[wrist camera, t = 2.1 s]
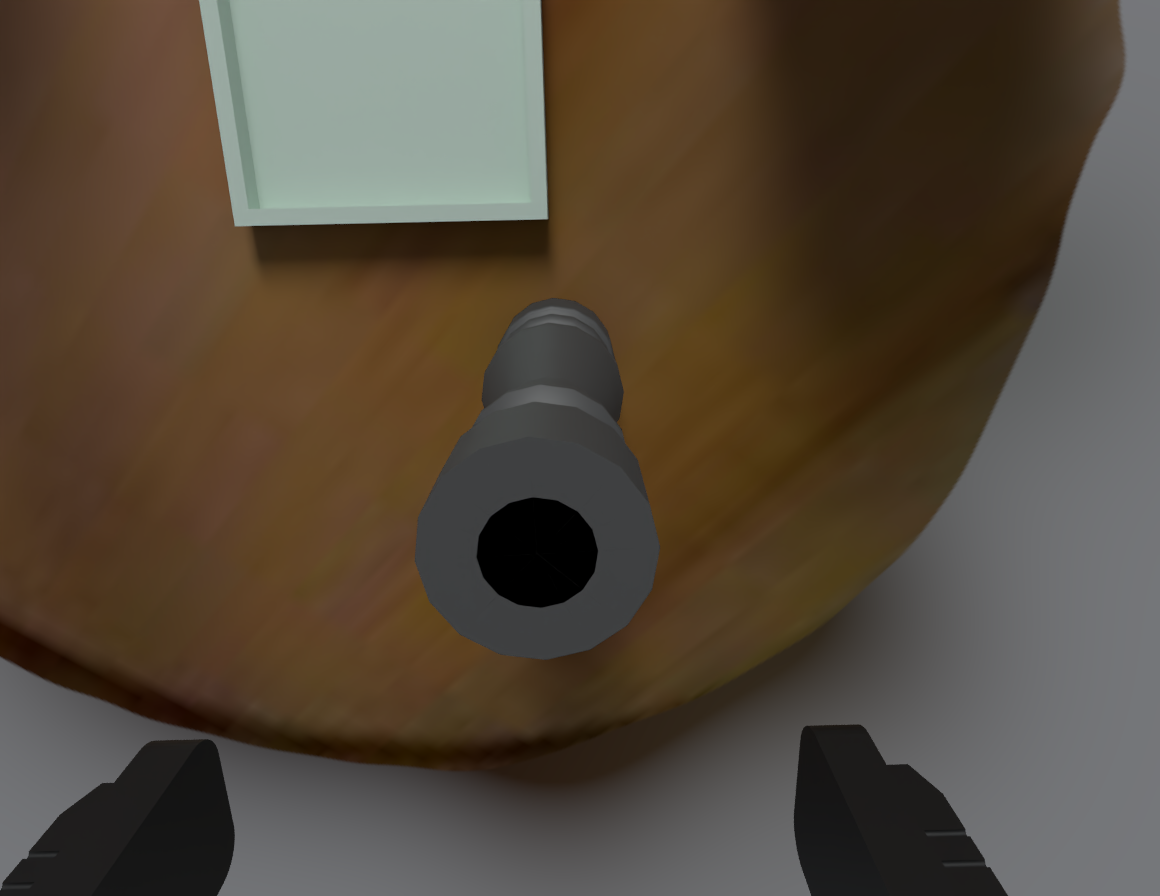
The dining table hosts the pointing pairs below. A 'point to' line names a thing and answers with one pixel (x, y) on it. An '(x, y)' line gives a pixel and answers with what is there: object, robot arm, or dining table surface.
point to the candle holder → (541, 498)
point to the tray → (380, 109)
